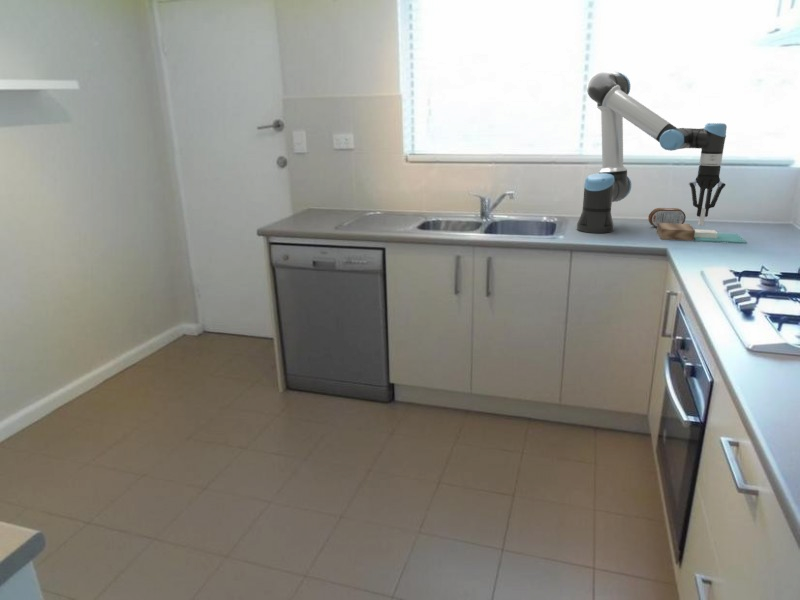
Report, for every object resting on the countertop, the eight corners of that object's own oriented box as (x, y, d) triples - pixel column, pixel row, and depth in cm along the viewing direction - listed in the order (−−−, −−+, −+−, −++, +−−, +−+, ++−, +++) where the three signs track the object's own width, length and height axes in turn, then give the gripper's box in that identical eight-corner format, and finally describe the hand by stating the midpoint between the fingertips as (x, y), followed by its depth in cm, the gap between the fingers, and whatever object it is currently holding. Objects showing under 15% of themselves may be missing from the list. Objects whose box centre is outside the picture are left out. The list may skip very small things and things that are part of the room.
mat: (695, 241, 226) (695, 239, 225) (688, 233, 240) (688, 231, 240) (746, 243, 220) (747, 242, 220) (736, 235, 235) (737, 233, 235)
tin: (682, 226, 253) (685, 207, 250) (685, 228, 250) (687, 209, 247) (647, 226, 254) (649, 207, 252) (649, 228, 251) (651, 208, 249)
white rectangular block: (692, 237, 230) (693, 232, 229) (689, 234, 235) (690, 229, 235) (717, 238, 227) (718, 233, 227) (714, 235, 233) (715, 230, 232)
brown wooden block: (660, 239, 230) (662, 229, 229) (656, 232, 243) (657, 222, 241) (693, 240, 227) (695, 230, 225) (687, 233, 239) (689, 224, 238)
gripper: (693, 165, 221) (684, 225, 229) (730, 165, 218) (720, 227, 225) (690, 163, 228) (681, 222, 236) (726, 164, 225) (716, 223, 232)
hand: (700, 224), depth 230 cm, fingers closed
